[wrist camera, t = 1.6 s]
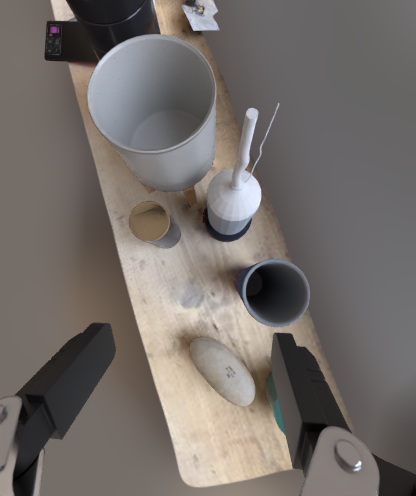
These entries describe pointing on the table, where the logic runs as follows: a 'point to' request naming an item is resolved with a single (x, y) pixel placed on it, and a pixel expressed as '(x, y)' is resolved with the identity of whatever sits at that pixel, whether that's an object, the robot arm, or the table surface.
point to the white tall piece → (234, 191)
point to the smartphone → (67, 43)
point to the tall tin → (154, 225)
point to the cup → (274, 292)
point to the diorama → (201, 14)
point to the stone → (223, 371)
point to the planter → (157, 110)
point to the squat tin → (274, 401)
